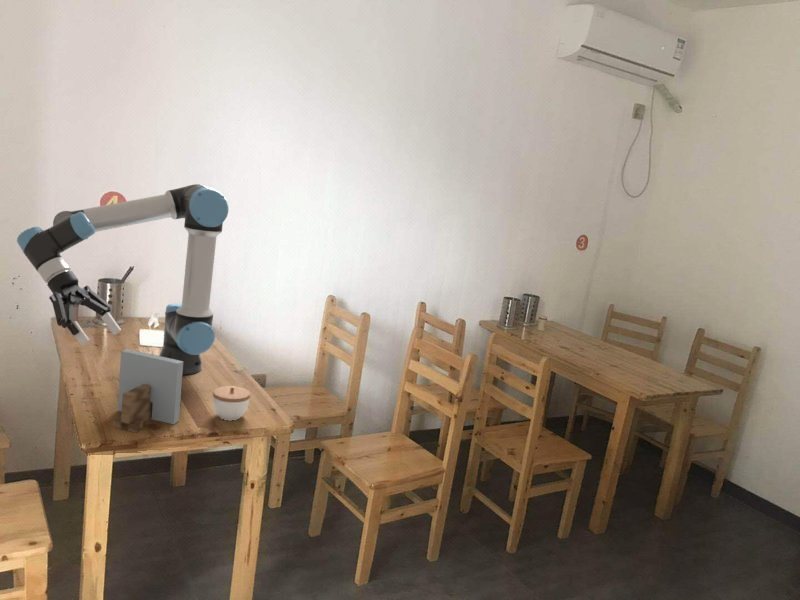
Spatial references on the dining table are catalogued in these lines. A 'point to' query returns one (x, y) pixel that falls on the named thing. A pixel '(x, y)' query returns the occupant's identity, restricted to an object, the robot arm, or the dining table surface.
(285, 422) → the dining table surface
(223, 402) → the lidded jar
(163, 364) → the slotted plate
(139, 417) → the walnut board
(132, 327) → the dining table surface
